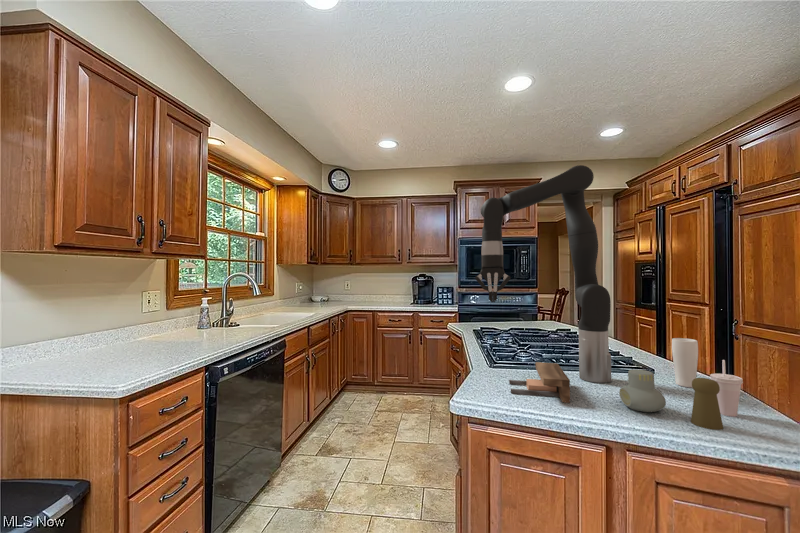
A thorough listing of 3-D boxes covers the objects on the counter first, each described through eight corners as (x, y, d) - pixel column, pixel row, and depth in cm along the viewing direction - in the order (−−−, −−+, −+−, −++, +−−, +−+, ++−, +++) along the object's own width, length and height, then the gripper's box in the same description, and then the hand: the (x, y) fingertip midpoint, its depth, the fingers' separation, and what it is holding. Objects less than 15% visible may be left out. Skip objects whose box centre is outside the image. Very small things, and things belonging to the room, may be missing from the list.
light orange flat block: (552, 388, 115) (552, 380, 115) (556, 395, 108) (556, 387, 108) (526, 386, 117) (526, 378, 117) (528, 393, 110) (528, 385, 110)
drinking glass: (699, 385, 117) (698, 339, 117) (698, 390, 112) (697, 342, 112) (674, 381, 121) (672, 337, 122) (671, 385, 116) (670, 339, 117)
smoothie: (704, 409, 96) (702, 357, 96) (726, 408, 96) (724, 356, 97) (728, 419, 89) (726, 363, 90) (751, 418, 90) (749, 362, 90)
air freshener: (670, 417, 91) (669, 378, 91) (634, 415, 92) (633, 376, 92) (648, 402, 102) (647, 367, 102) (616, 401, 103) (615, 366, 103)
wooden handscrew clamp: (557, 382, 121) (557, 363, 121) (570, 403, 101) (569, 380, 102) (508, 379, 125) (508, 360, 125) (511, 398, 105) (511, 376, 106)
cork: (729, 430, 83) (728, 383, 83) (700, 428, 84) (698, 382, 84) (712, 420, 89) (711, 376, 89) (685, 418, 90) (683, 375, 90)
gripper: (510, 254, 130) (511, 301, 130) (474, 255, 133) (474, 301, 133) (511, 253, 123) (512, 303, 122) (473, 254, 126) (473, 302, 126)
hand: (492, 302), depth 128 cm, fingers closed
